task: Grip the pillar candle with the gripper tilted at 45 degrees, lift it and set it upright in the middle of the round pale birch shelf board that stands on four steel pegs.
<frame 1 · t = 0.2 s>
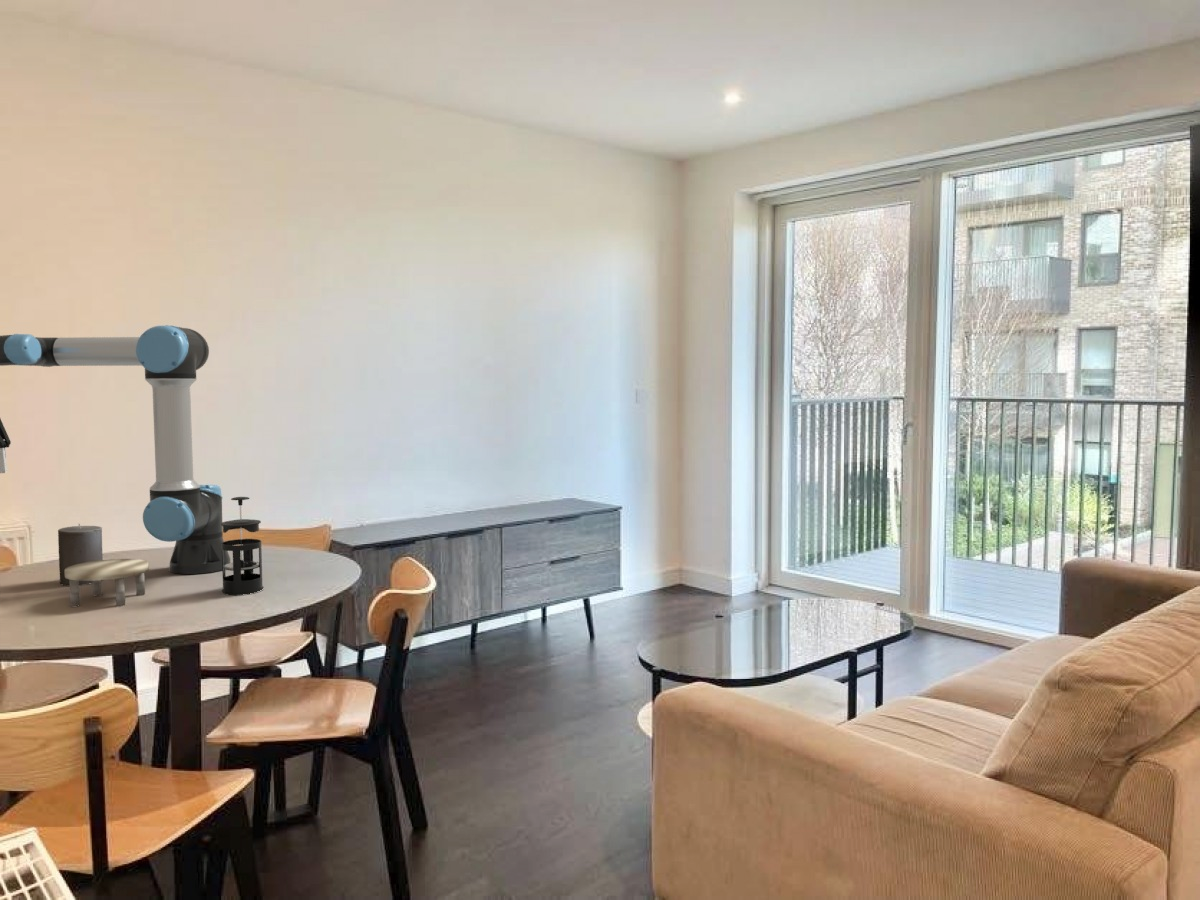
peg shelf: (108, 600, 203), on the table
pillar candle: (82, 582, 222), on the table
french press: (243, 591, 213), on the table
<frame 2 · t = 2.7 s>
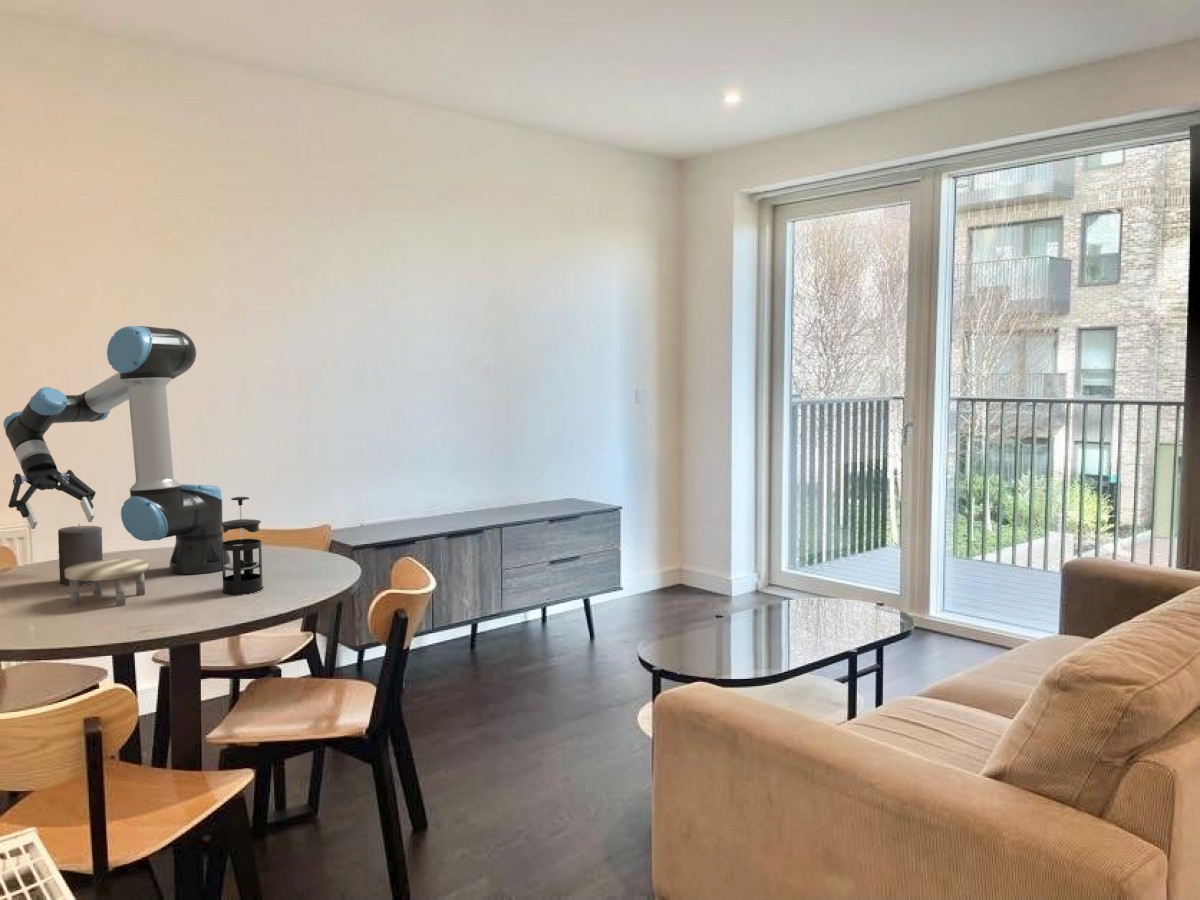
hand: (63, 522, 225), 14 cm above the table, tool tilted 45°, fingers open, 13 cm apart
nothing on the table moved.
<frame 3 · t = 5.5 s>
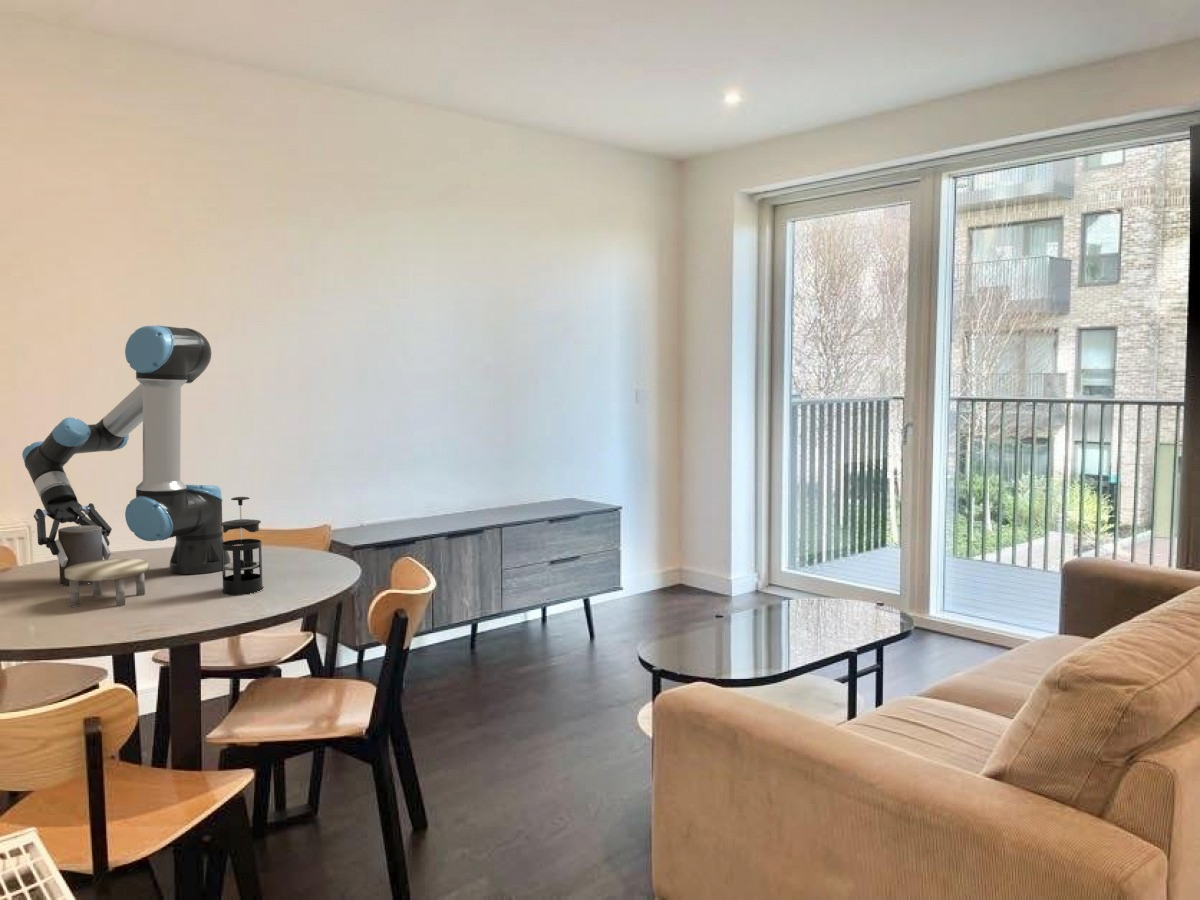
hand: (86, 560, 219), 6 cm above the table, tool tilted 45°, fingers closed on pillar candle, 9 cm apart
pillar candle: (82, 582, 222), on the table, touching gripper
everything else where it was.
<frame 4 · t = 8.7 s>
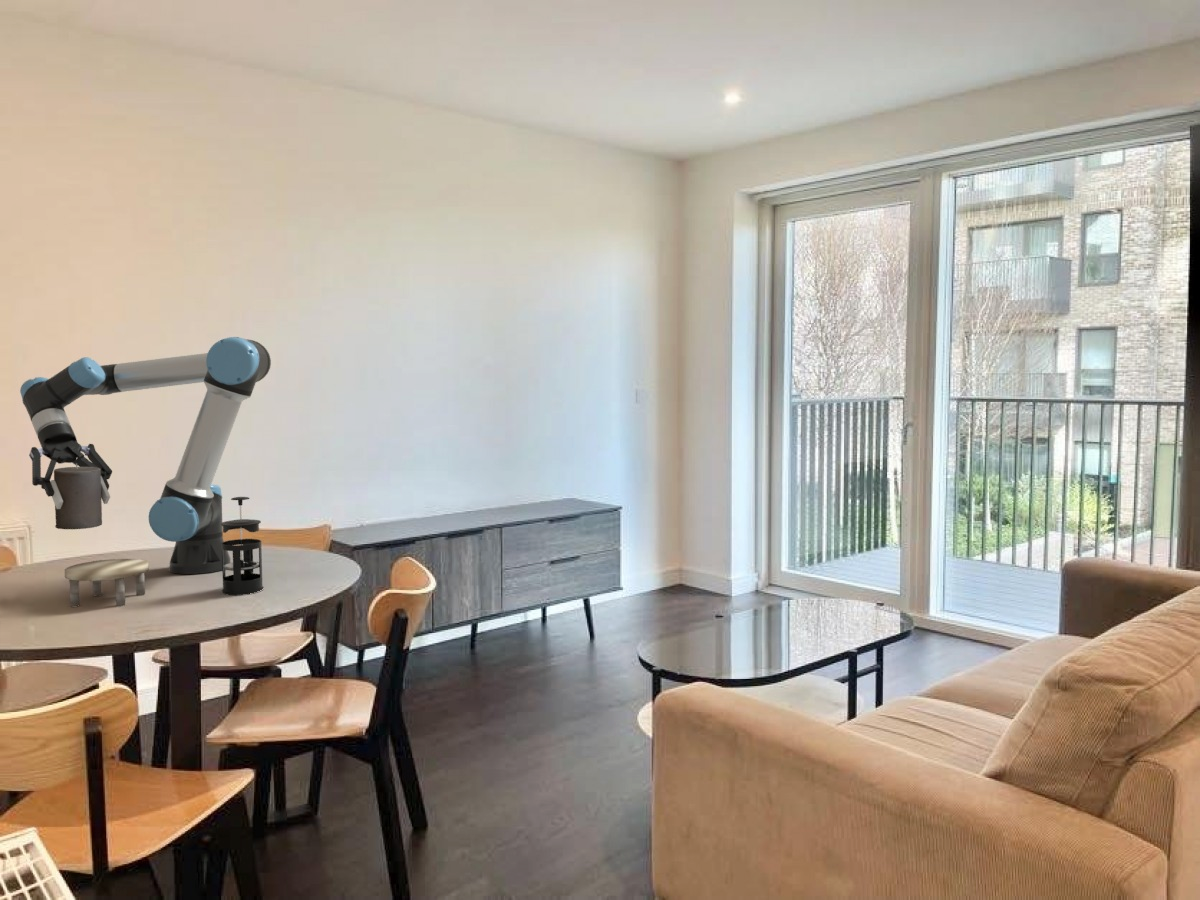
hand: (84, 502, 205), 22 cm above the table, tool tilted 45°, fingers closed on pillar candle, 9 cm apart
pillar candle: (79, 526, 208), point 16 cm above the table, touching gripper
everything else where it was.
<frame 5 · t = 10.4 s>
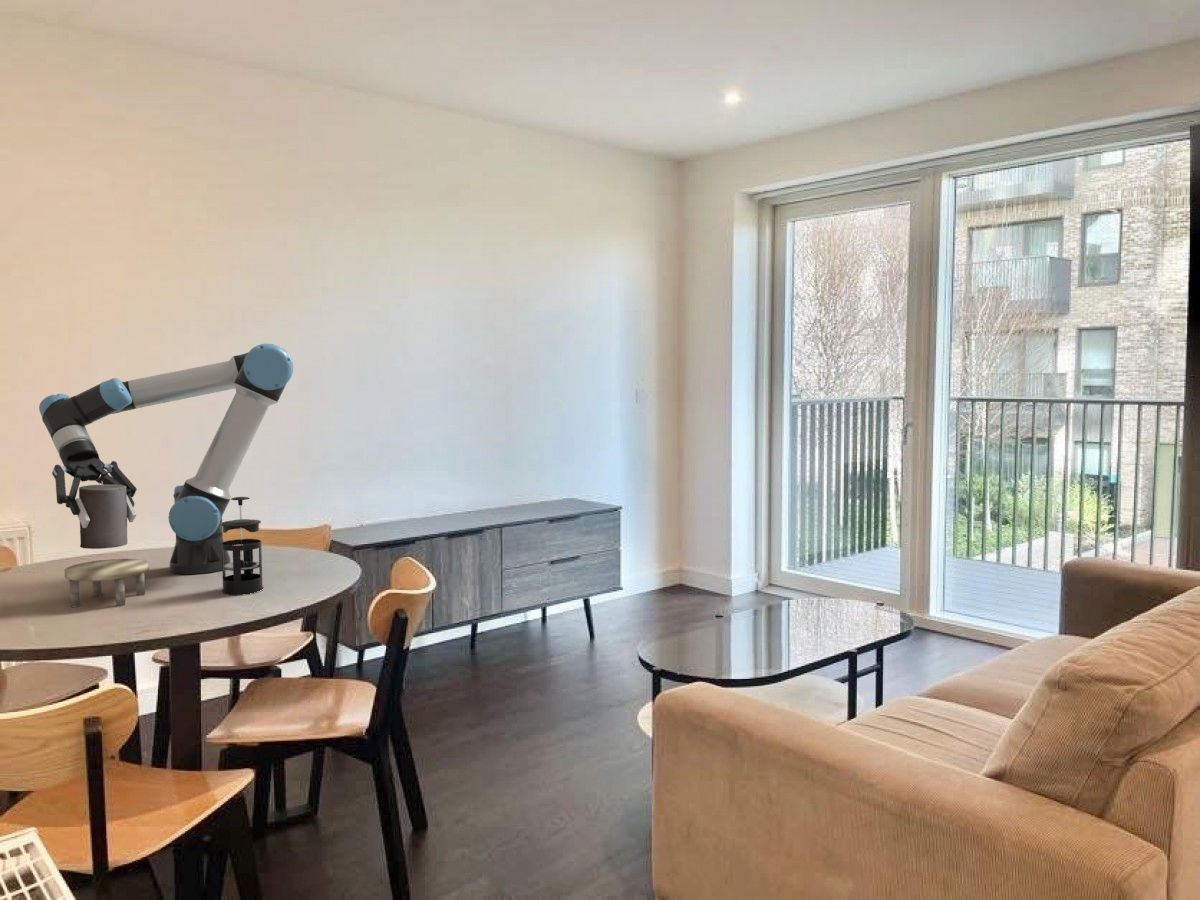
hand: (110, 521, 199), 19 cm above the table, tool tilted 45°, fingers closed on pillar candle, 9 cm apart
pillar candle: (104, 546, 202), point 13 cm above the table, touching gripper
everything else where it was.
when the fingers open (15 cm above the table, at t = 11.7 s): pillar candle drops 1 cm, resting on peg shelf.
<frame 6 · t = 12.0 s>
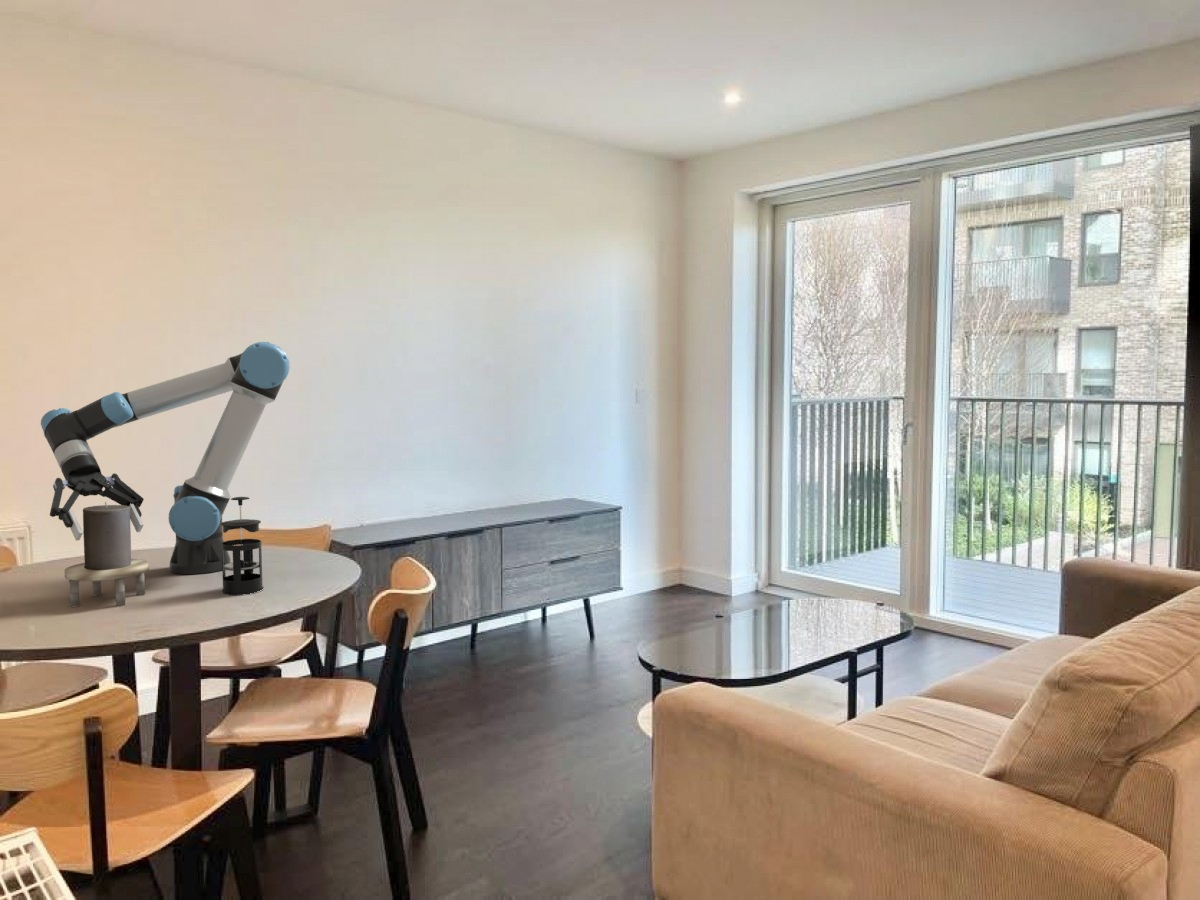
hand: (110, 532, 200), 16 cm above the table, tool tilted 45°, fingers open, 13 cm apart
pillar candle: (108, 566, 203), point 8 cm above the table, touching peg shelf
everything else where it was.
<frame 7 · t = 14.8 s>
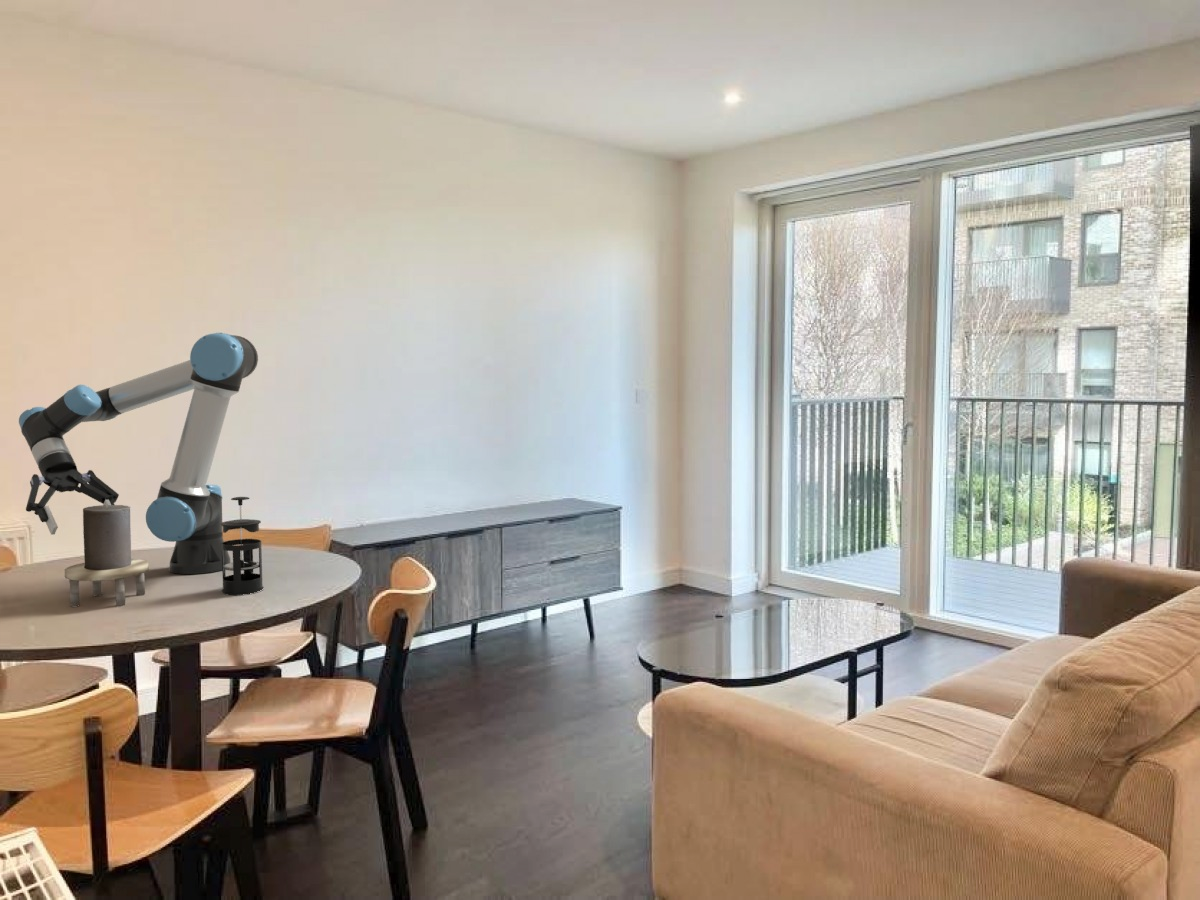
hand: (85, 527, 207), 16 cm above the table, tool tilted 45°, fingers open, 13 cm apart
nothing on the table moved.
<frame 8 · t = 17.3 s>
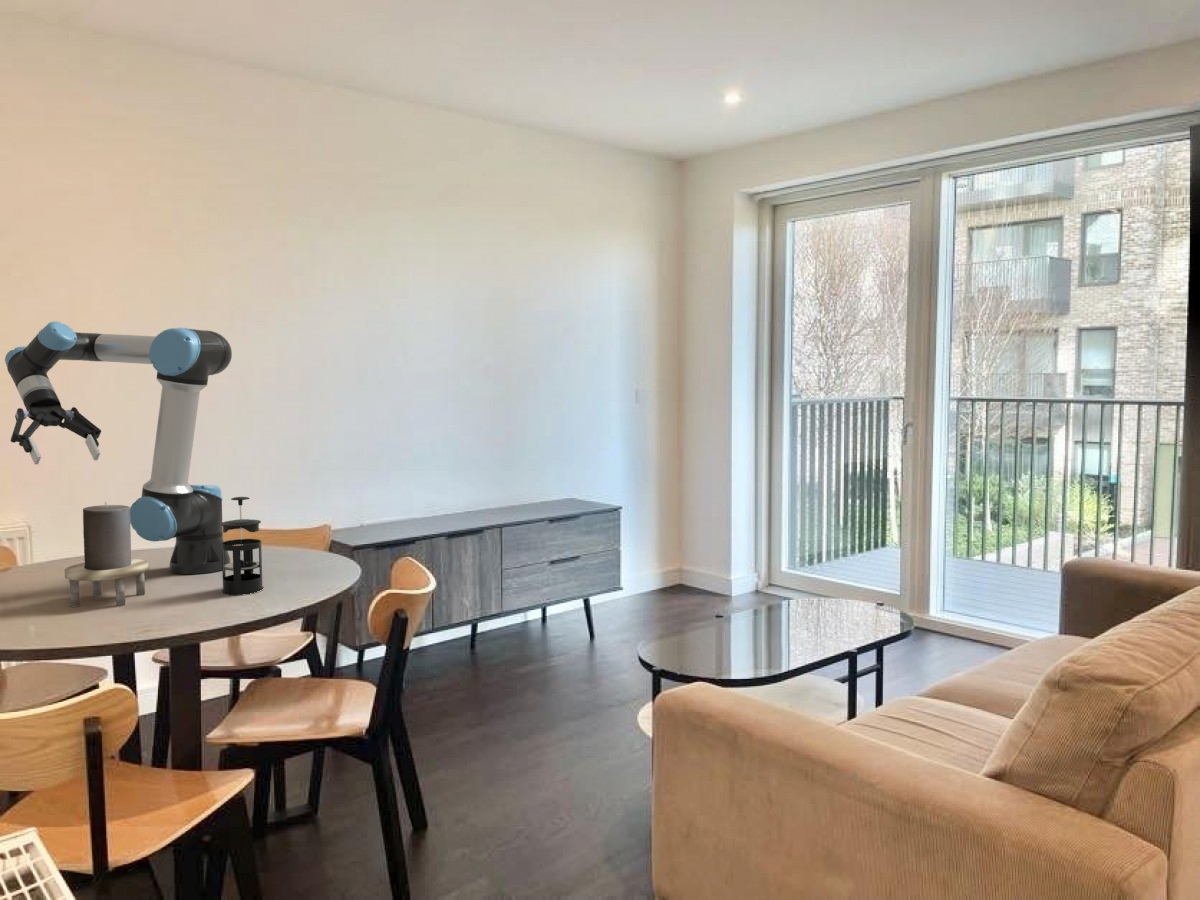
hand: (68, 458, 216), 32 cm above the table, tool tilted 45°, fingers open, 13 cm apart
nothing on the table moved.
at the end: pillar candle 0.4 cm off-centre on the peg shelf, point 7.8 cm above the peg shelf's base; pillar candle tilted 0°; the gripper is holding nothing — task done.
